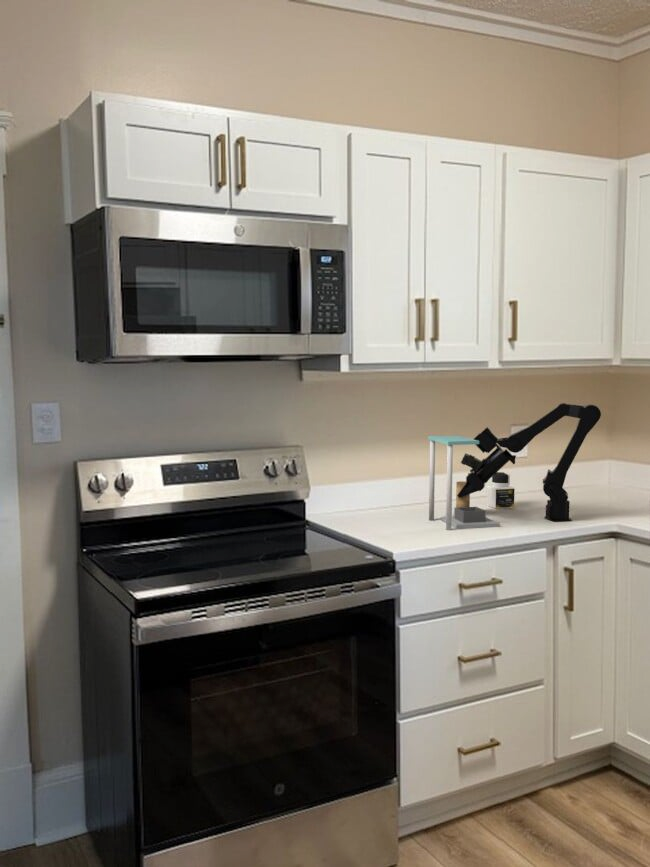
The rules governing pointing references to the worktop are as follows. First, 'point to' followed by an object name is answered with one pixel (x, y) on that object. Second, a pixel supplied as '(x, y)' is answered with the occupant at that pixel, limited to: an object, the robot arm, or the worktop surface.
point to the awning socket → (462, 515)
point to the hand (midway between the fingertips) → (458, 495)
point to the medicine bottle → (500, 492)
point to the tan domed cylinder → (463, 500)
